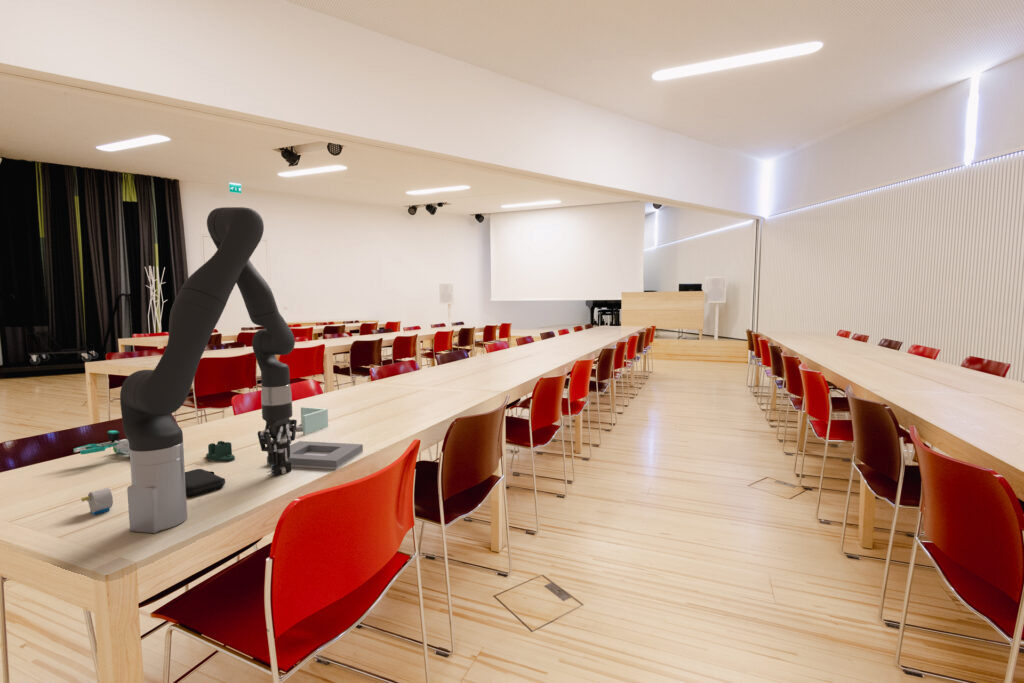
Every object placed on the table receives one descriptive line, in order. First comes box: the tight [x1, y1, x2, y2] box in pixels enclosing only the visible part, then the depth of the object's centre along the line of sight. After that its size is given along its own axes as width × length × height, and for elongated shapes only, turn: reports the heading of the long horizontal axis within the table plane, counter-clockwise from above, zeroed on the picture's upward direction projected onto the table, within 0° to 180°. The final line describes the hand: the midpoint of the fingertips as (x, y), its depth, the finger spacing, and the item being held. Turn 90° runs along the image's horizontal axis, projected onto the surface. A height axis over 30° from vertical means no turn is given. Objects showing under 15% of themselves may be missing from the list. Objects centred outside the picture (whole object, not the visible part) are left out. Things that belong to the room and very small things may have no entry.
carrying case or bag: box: [185, 468, 226, 498], centre depth 124 cm, size 11×3×15 cm
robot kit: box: [73, 429, 130, 456], centre depth 146 cm, size 19×25×9 cm
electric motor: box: [80, 487, 114, 516], centre depth 108 cm, size 7×5×5 cm
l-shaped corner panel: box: [296, 406, 329, 436], centre depth 179 cm, size 12×12×8 cm
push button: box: [266, 436, 292, 477], centre depth 132 cm, size 7×5×10 cm
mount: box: [205, 440, 236, 463], centre depth 145 cm, size 11×4×5 cm, turn 67°
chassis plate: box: [266, 440, 364, 470], centre depth 146 cm, size 16×22×2 cm
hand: (279, 460), depth 133 cm, fingers closed on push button, 5 cm apart
